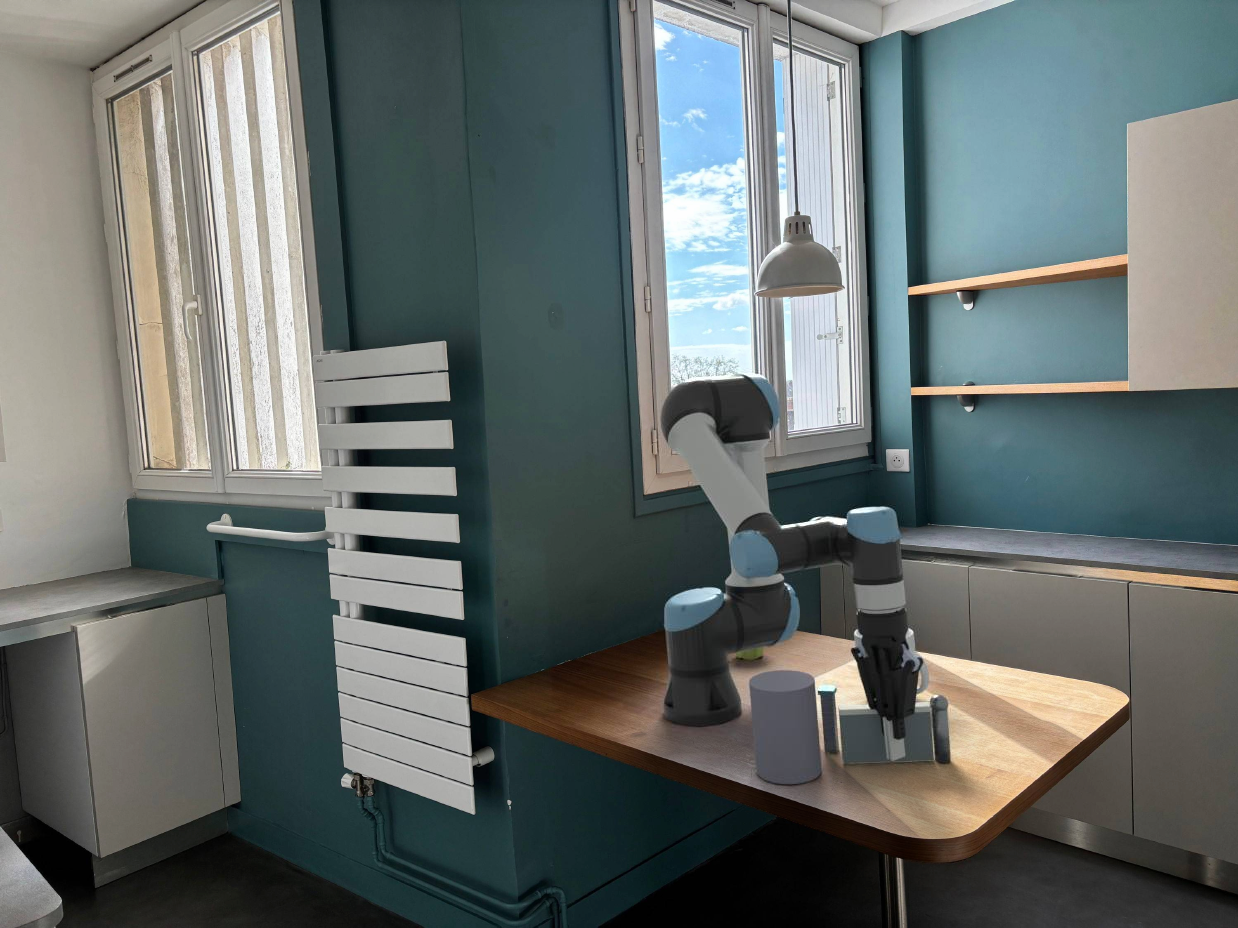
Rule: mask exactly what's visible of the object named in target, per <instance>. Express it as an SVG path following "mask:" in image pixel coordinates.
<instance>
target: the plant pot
mask: <svg viewBox="0 0 1238 928" xmlns="http://www.w3.org/2000/svg"><path fill="white" fill-rule="evenodd" d="M735 654H736V657H737V658H738V659H741V658H742V659H744V660H745V661H747V660H748V661H749V660H756V659H759V658H760V657H764V647H760V648H755V649H750V650H746V651H741V652H736V653H735Z"/></svg>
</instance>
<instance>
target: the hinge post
mask: <svg viewBox="0 0 1238 928" xmlns="http://www.w3.org/2000/svg"><path fill="white" fill-rule="evenodd" d="M929 705H930V707H931V724H932V739H933V753H934V762H936V764H937V763H938V764H941V765H947V764H950V763H951V762H952V757H951V743H950V726H949V714H948V709H949V701H948V699H947V698H946V696H944V695H942V694H935V695H933V696H931V698H930V700H929Z"/></svg>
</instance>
